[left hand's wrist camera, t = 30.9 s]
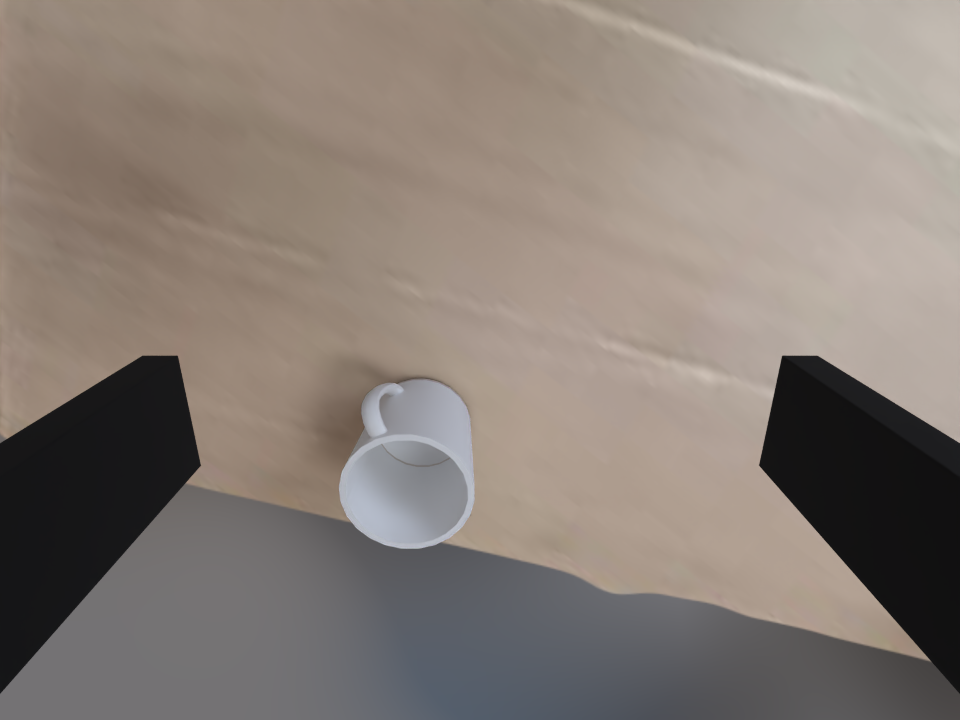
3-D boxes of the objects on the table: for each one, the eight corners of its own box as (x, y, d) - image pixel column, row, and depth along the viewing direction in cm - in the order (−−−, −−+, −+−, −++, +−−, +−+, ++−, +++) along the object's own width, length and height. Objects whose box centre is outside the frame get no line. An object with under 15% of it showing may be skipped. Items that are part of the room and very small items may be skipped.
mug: (492, 446, 47) (495, 523, 37) (397, 481, 48) (376, 565, 38) (438, 332, 43) (426, 385, 34) (337, 374, 44) (298, 436, 35)
